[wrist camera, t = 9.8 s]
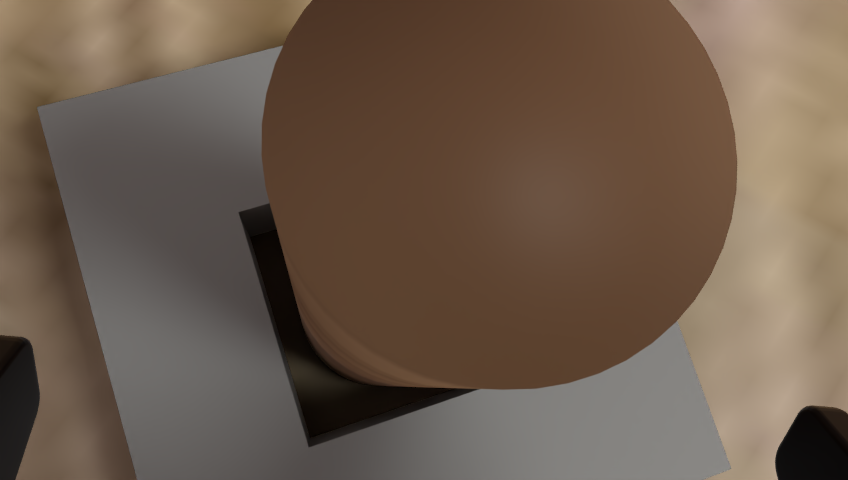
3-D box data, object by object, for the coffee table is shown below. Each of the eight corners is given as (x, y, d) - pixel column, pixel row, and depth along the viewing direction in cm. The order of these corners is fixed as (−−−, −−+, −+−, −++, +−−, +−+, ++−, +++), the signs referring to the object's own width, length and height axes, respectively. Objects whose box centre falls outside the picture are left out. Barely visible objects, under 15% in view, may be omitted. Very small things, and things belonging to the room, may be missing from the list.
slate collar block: (210, 629, 18) (190, 677, 15) (78, 147, 20) (37, 107, 17) (672, 456, 21) (731, 468, 18) (520, 32, 22) (551, -22, 19)
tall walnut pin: (389, 419, 20) (549, 498, 6) (266, 314, 20) (152, 161, 6) (488, 296, 21) (823, 126, 7) (371, 197, 21) (472, -166, 7)
